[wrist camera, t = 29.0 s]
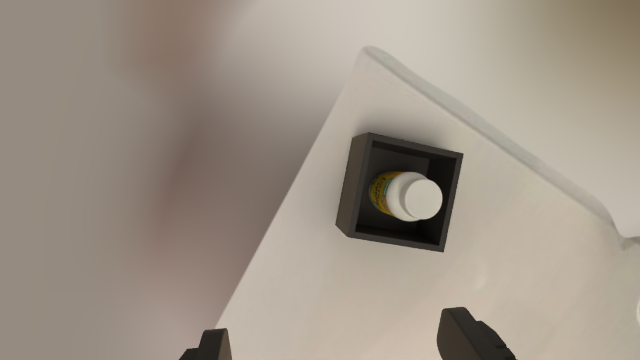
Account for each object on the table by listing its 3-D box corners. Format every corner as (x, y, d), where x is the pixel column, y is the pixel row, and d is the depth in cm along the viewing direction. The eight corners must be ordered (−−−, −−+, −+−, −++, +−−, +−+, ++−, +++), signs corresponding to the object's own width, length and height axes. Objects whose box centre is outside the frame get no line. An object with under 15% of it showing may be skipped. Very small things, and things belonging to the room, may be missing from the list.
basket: (335, 224, 38) (347, 237, 32) (352, 137, 38) (368, 132, 31) (416, 238, 40) (443, 252, 34) (433, 155, 40) (463, 153, 33)
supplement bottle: (405, 212, 39) (448, 227, 29) (366, 211, 38) (396, 227, 29) (407, 171, 39) (450, 173, 29) (368, 170, 38) (399, 171, 28)
